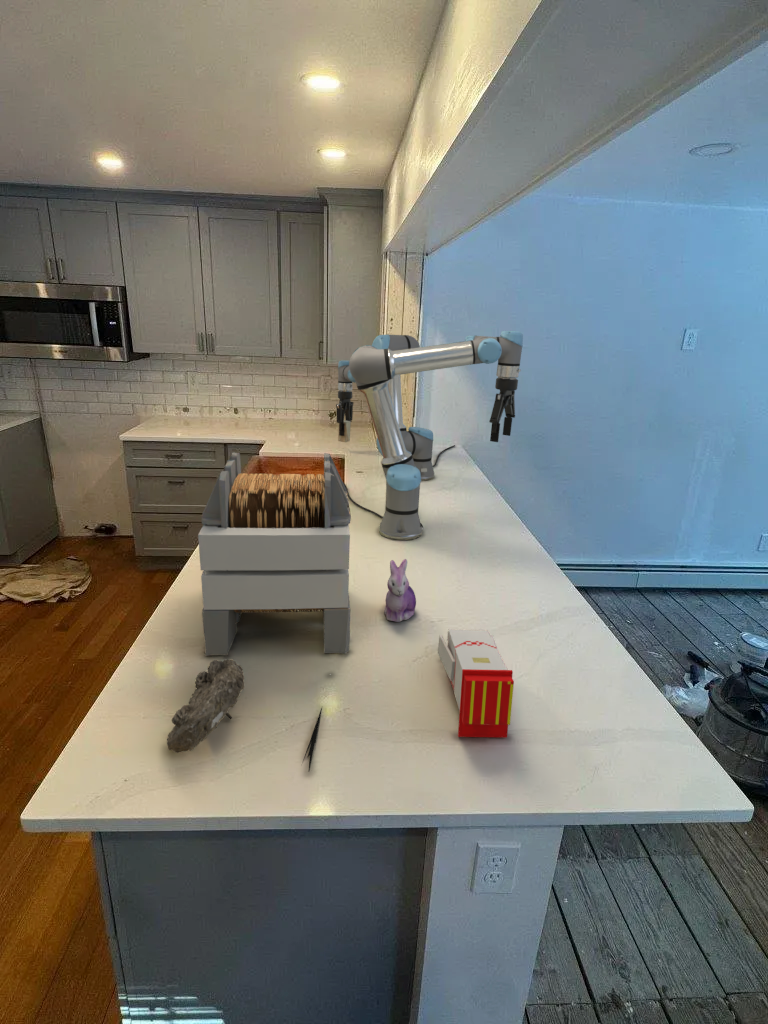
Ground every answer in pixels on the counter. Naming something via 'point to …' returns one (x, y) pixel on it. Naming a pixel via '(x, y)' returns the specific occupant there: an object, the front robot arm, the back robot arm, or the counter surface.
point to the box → (345, 432)
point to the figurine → (399, 594)
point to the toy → (478, 682)
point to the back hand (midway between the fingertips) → (344, 434)
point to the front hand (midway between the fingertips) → (500, 438)
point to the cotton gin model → (275, 551)
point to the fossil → (206, 705)
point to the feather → (313, 740)
